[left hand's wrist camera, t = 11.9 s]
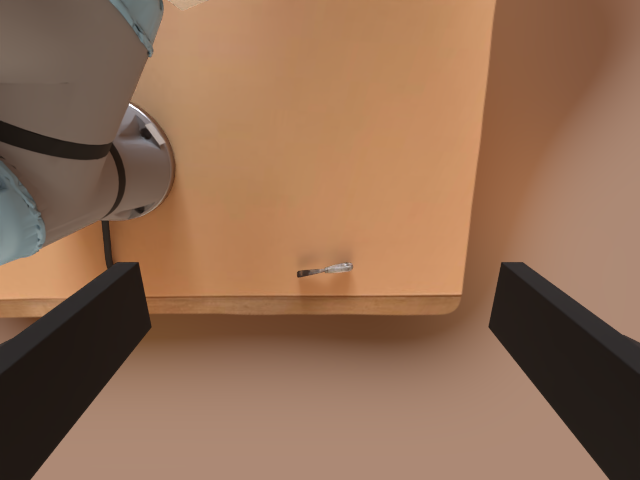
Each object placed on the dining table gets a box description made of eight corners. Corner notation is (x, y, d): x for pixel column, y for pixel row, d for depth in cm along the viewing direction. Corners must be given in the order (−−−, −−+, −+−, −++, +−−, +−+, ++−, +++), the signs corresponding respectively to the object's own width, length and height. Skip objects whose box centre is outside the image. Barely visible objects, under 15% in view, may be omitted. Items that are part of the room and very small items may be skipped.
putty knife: (352, 267, 49) (354, 272, 47) (298, 275, 49) (297, 281, 48) (352, 260, 49) (353, 265, 47) (296, 269, 49) (296, 274, 48)
